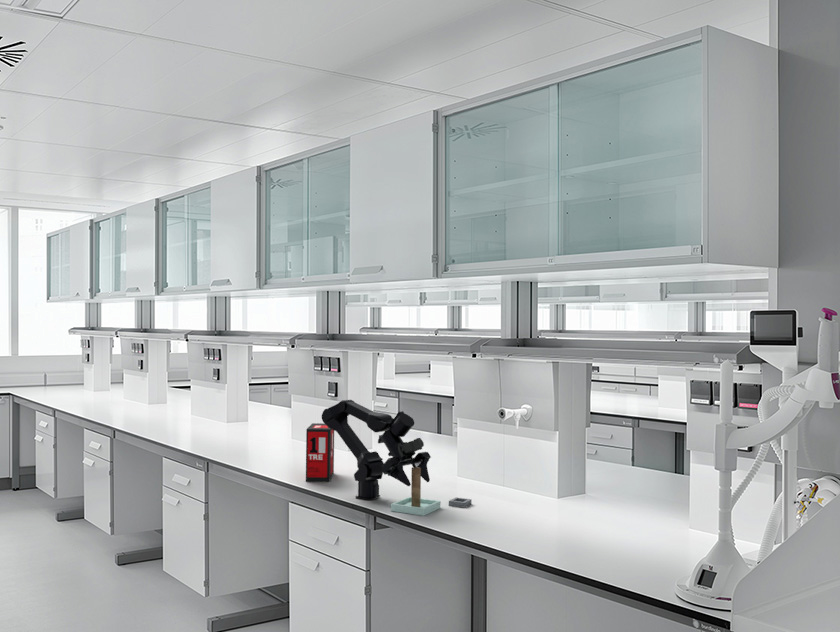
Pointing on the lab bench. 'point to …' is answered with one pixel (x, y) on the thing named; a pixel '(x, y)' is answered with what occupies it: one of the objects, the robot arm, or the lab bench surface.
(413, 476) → the pin
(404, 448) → the robot arm
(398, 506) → the tray
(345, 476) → the lab bench surface
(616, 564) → the lab bench surface
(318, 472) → the cleaning product box
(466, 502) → the tray
